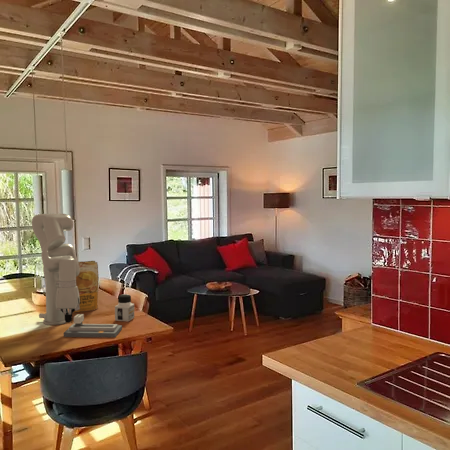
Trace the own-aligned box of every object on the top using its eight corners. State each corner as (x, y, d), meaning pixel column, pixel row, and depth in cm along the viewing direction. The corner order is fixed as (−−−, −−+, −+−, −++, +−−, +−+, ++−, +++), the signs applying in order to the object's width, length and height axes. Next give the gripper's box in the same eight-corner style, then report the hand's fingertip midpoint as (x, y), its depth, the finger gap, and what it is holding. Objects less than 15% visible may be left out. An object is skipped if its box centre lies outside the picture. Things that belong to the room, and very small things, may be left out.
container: (128, 321, 218) (128, 297, 218) (114, 320, 220) (114, 296, 219) (134, 317, 226) (134, 293, 225) (121, 316, 228) (120, 292, 227)
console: (63, 336, 194) (63, 329, 194) (73, 328, 206) (73, 321, 206) (115, 337, 194) (115, 330, 194) (122, 329, 206) (121, 322, 206)
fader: (73, 329, 198) (73, 316, 197) (77, 326, 203) (77, 313, 202) (80, 329, 198) (79, 316, 197) (83, 326, 203) (83, 313, 202)
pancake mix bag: (64, 311, 237) (63, 262, 235) (98, 306, 247) (97, 259, 246) (67, 314, 231) (65, 263, 229) (101, 309, 242) (100, 261, 240)
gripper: (48, 285, 195) (49, 324, 196) (80, 285, 195) (81, 324, 196) (55, 282, 203) (56, 319, 204) (86, 282, 202) (86, 320, 203)
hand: (68, 322), depth 200 cm, fingers closed
